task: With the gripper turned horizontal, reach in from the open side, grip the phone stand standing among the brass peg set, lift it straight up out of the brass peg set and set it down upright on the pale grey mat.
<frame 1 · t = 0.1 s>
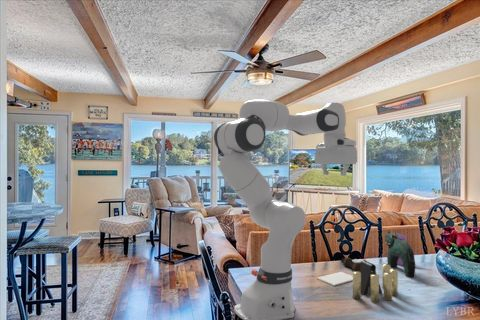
hand: (334, 175, 133), 48 cm above the table, tool pointing down, fingers open, 8 cm apart
mat: (337, 279, 145), on the table
green animal figurine: (400, 271, 157), on the table
brass peg set: (367, 291, 131), on the table
toy chair: (399, 263, 170), on the table
bolt: (351, 269, 160), on the table
phone stand: (367, 291, 131), on the table
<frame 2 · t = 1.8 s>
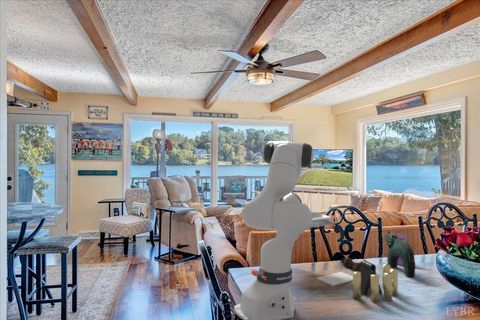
hand: (326, 224, 151), 24 cm above the table, tool horizontal, fingers open, 8 cm apart
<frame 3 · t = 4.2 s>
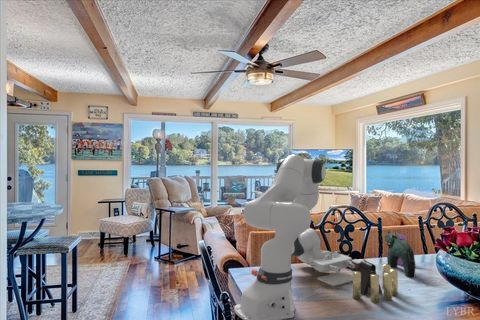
hand: (346, 268, 141), 6 cm above the table, tool horizontal, fingers open, 8 cm apart
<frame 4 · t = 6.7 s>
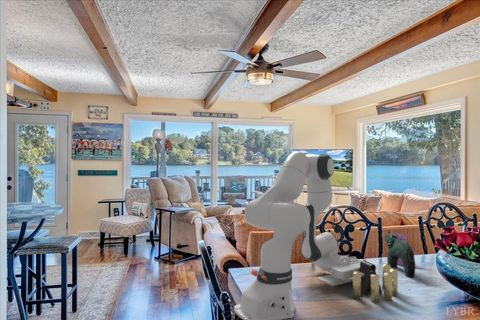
hand: (367, 275, 132), 7 cm above the table, tool horizontal, fingers closed on phone stand, 2 cm apart
phone stand: (367, 291, 131), on the table, touching gripper
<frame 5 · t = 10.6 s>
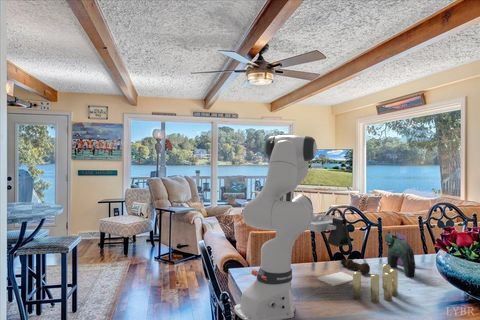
hand: (339, 228, 145), 23 cm above the table, tool horizontal, fingers closed on phone stand
phone stand: (339, 244, 144), point 16 cm above the table, touching gripper
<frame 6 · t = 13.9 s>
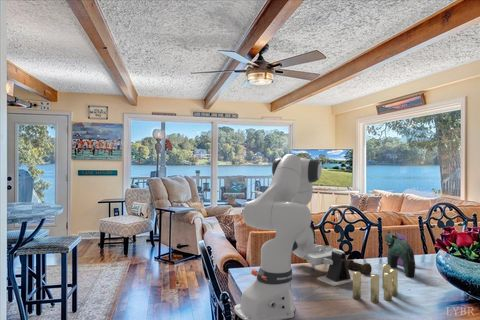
hand: (339, 261, 144), 8 cm above the table, tool horizontal, fingers open, 6 cm apart
phone stand: (338, 278, 144), resting on mat
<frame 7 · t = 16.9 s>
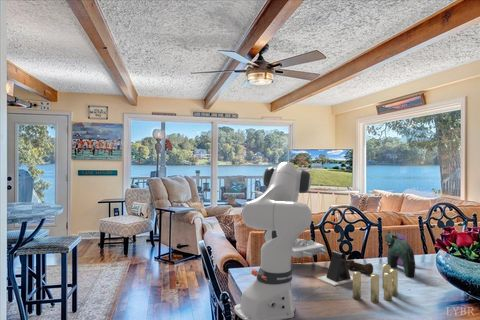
hand: (318, 254, 155), 8 cm above the table, tool horizontal, fingers open, 8 cm apart
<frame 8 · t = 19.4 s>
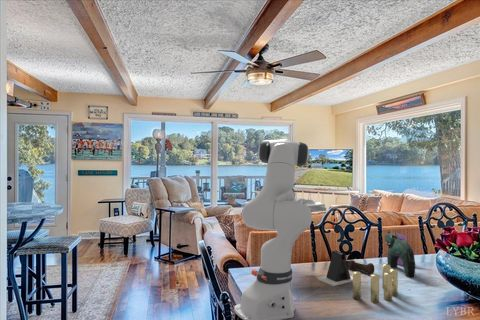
hand: (318, 210, 156), 30 cm above the table, tool horizontal, fingers open, 8 cm apart
at the end: phone stand inside the target area on the mat (0.6 cm from its centre), point 0.4 cm above the mat's base; phone stand tilted 0°; the gripper is holding nothing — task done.
